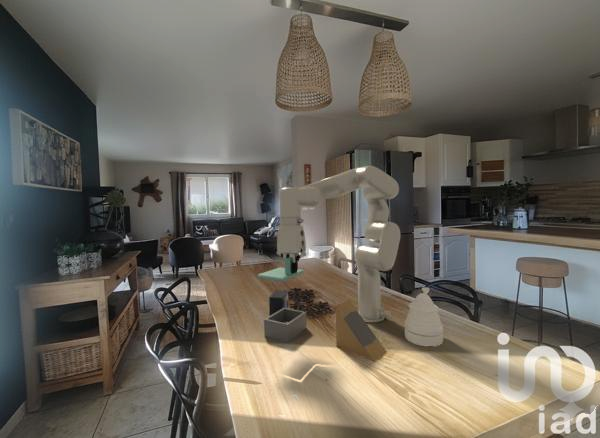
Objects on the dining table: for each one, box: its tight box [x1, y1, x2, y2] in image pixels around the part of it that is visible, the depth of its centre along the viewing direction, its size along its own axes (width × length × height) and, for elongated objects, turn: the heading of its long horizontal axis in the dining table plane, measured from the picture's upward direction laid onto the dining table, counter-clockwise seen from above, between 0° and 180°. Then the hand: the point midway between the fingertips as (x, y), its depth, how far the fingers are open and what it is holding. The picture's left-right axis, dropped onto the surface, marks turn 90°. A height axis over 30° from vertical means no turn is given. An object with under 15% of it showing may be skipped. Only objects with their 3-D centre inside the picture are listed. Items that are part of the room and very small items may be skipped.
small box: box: [268, 289, 289, 317], centre depth 128 cm, size 11×6×10 cm, turn 168°
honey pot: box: [404, 286, 444, 347], centre depth 104 cm, size 13×13×18 cm
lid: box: [256, 255, 305, 283], centre depth 106 cm, size 11×14×8 cm
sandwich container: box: [335, 299, 387, 362], centre depth 97 cm, size 9×15×15 cm, turn 46°
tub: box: [263, 308, 307, 343], centre depth 110 cm, size 11×14×7 cm
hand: (291, 271), depth 104 cm, fingers closed on lid
